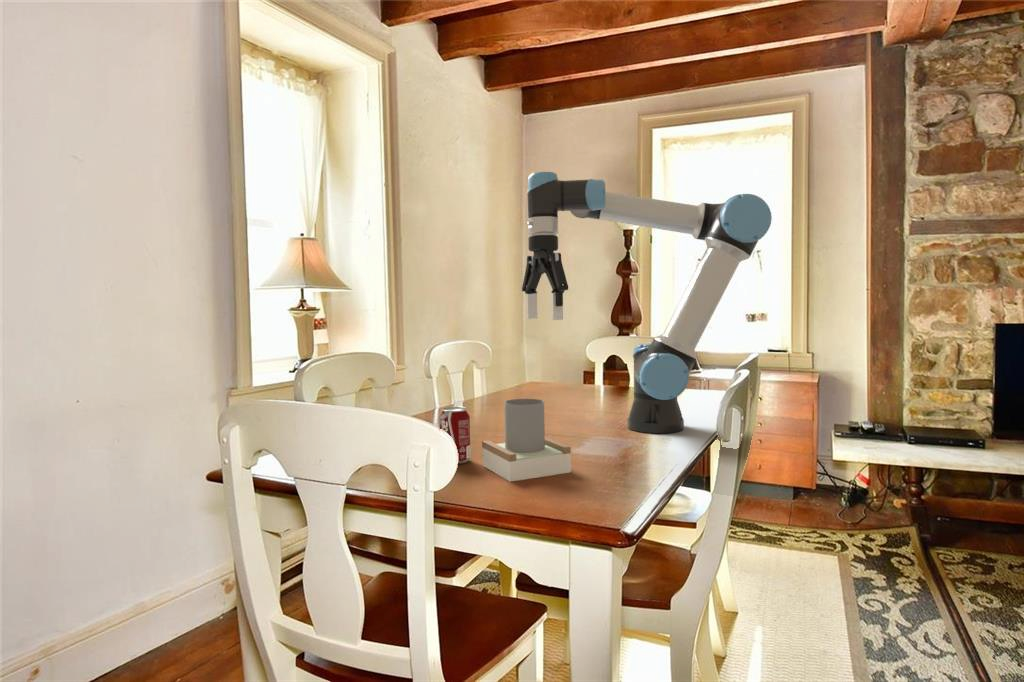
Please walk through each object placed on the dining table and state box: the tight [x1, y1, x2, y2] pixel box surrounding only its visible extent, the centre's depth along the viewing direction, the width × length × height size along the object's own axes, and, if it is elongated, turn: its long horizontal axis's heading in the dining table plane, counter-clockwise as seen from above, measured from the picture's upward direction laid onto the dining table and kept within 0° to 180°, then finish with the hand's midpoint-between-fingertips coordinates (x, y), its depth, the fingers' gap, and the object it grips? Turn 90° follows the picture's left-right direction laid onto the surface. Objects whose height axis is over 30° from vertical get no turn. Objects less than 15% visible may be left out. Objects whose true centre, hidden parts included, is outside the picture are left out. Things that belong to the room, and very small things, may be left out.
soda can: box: [438, 406, 472, 465], centre depth 143 cm, size 7×7×12 cm
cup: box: [503, 398, 546, 453], centre depth 136 cm, size 8×8×10 cm
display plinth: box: [481, 436, 572, 483], centre depth 137 cm, size 14×14×5 cm
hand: (544, 319), depth 164 cm, fingers open, 13 cm apart
